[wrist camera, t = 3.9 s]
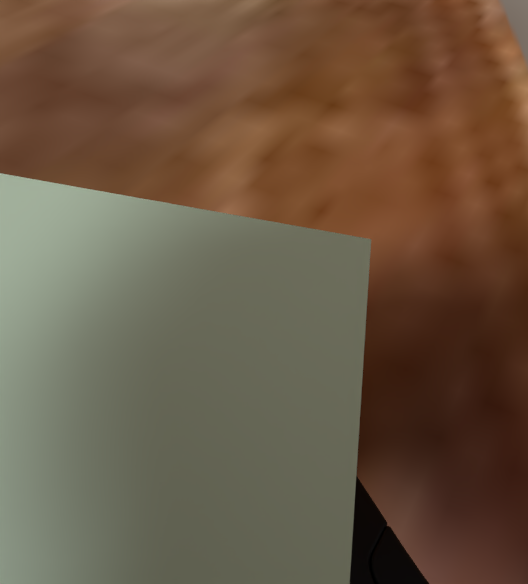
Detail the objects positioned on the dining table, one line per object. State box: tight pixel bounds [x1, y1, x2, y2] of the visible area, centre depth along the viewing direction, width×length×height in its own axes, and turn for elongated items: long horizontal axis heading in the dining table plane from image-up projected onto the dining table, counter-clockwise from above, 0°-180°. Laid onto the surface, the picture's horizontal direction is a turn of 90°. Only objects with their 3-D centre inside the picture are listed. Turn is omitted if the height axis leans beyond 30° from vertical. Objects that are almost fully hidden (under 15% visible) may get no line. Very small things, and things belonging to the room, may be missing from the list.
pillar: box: [0, 174, 371, 584], centre depth 8 cm, size 5×5×12 cm
